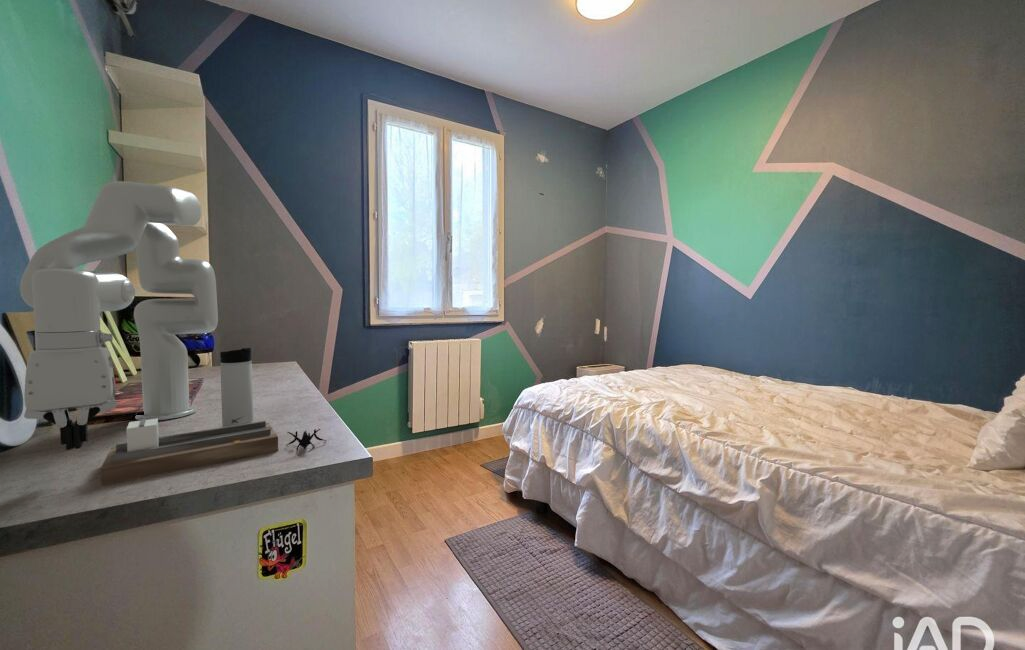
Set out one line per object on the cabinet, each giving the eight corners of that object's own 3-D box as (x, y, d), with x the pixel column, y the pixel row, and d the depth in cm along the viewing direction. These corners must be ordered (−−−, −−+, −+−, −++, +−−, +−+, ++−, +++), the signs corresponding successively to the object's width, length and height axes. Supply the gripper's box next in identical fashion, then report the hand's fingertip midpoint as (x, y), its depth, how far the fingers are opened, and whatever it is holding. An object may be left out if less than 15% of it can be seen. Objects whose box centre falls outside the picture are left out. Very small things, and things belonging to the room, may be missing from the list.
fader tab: (130, 448, 75) (129, 420, 75) (158, 443, 78) (157, 417, 77) (127, 456, 71) (126, 427, 71) (157, 451, 74) (156, 423, 74)
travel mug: (239, 434, 94) (236, 349, 92) (215, 431, 95) (213, 348, 94) (260, 426, 100) (258, 346, 99) (238, 424, 101) (236, 345, 100)
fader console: (111, 463, 76) (110, 441, 76) (269, 435, 93) (268, 417, 92) (101, 485, 67) (100, 461, 67) (278, 450, 83) (277, 430, 83)
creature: (287, 449, 88) (282, 453, 80) (287, 424, 88) (282, 426, 81) (326, 444, 91) (324, 448, 83) (326, 420, 91) (324, 422, 84)
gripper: (132, 338, 76) (136, 432, 77) (8, 342, 66) (15, 450, 67) (127, 341, 70) (132, 443, 71) (-9, 346, 60) (-2, 464, 61)
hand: (75, 446), depth 69 cm, fingers closed
